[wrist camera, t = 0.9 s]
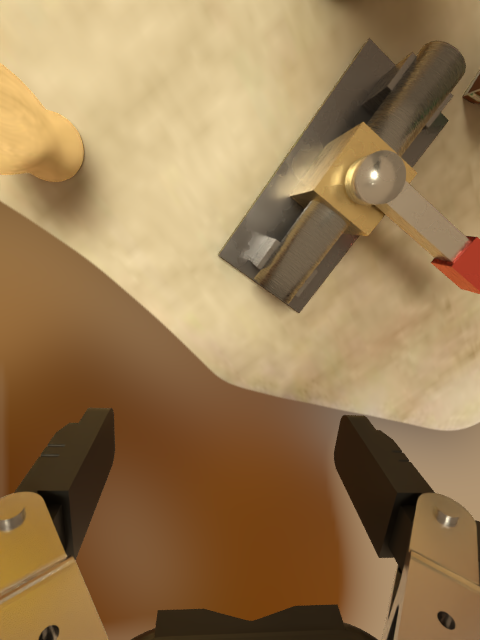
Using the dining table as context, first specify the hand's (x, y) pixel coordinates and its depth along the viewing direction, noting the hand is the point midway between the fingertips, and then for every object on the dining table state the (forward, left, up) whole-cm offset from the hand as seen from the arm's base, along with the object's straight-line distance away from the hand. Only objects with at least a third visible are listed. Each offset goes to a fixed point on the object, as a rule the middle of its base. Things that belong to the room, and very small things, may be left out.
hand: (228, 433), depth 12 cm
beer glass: (-2, -20, -27) cm, 34 cm away
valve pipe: (-15, +4, -27) cm, 31 cm away
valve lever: (-15, +9, -17) cm, 25 cm away
